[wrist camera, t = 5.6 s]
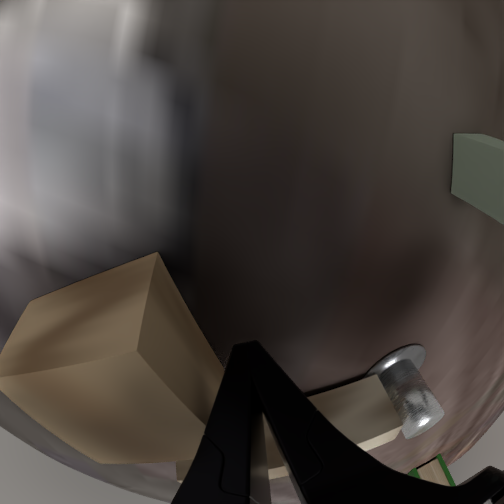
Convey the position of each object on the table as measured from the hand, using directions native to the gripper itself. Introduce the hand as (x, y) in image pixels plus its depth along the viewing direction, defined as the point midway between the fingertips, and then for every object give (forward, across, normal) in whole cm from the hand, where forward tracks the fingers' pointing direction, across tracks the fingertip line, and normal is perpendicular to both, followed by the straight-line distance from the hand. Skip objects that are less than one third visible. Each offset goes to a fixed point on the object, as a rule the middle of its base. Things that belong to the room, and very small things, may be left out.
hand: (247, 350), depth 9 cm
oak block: (+2, +5, 0) cm, 5 cm away
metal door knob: (+2, -8, +7) cm, 11 cm away
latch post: (+2, -10, -4) cm, 11 cm away
